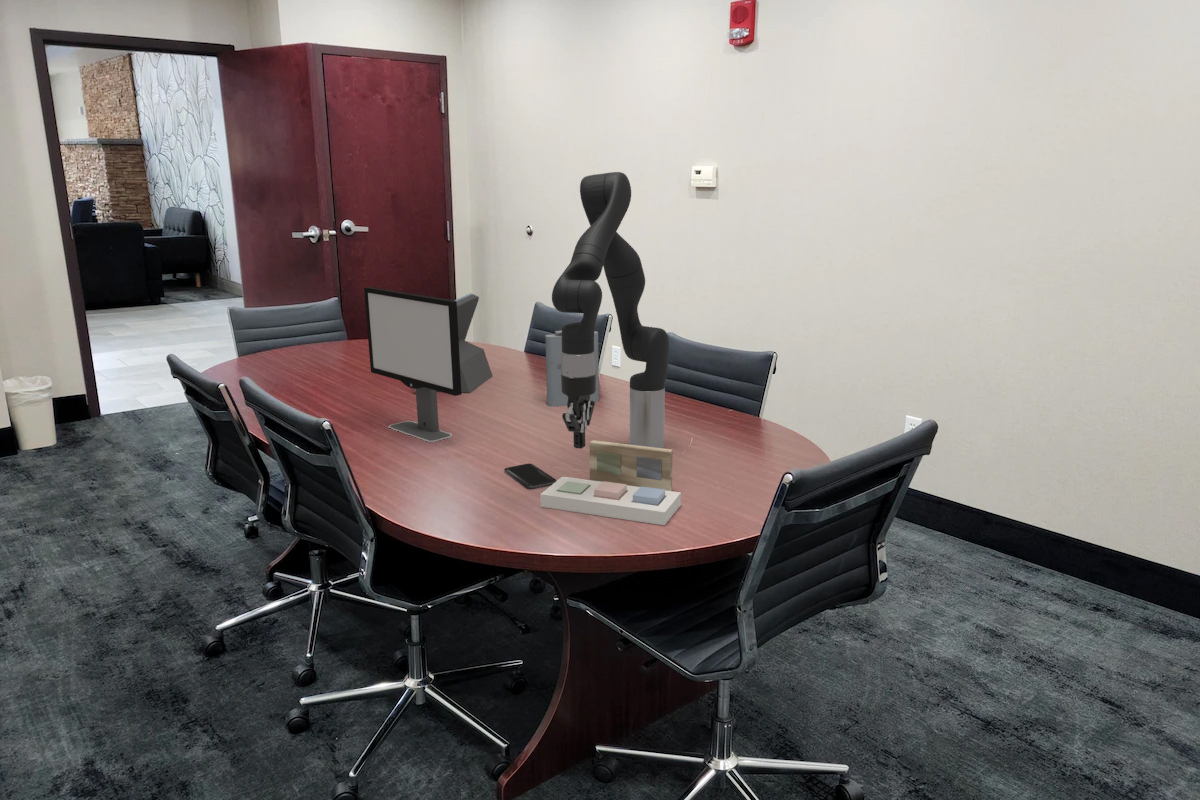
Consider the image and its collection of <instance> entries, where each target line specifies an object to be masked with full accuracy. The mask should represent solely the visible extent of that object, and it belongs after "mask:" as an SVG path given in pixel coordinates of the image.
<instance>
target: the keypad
mask: <svg viewBox="0 0 1200 800" xmlns="http://www.w3.org/2000/svg"><path fill="white" fill-rule="evenodd" d="M567 481H570V482H577V483H584V484H590V487H589V488H588V489H587V490H586V491H585V492H583V493H582V494H581V495H579V494H572V493H565V492H558V491H557V489H559V488H560V487H561V486H562V485H563V484H565V483H566V482H567ZM601 483H602V482H600V481H592V480H590V479H585V478H584V479H582V478H576V477H570V476H561V477H560V478H559V479H556V482H555V483H554V484H552V485H551V486H548V487H547V488H546V489H545V490H543V492H541V493H540V494H539V495H540V496H539V497H540V507H541V508H546V509H551V510H552V509H553V510H559V511H565V512H566V511H567V512H573V513H580V514H587V515H592V516H593V515H594V516H600V517H606V518H613V519H618V520H619V519H620V520H625V521H626V520H627V521H632V522H638V523H640V522H641V523H646V524H653V525H657V526H666V524H667V523H668V522H669V521H670V520H671V518H672V517H673V516H674V514H675V513H676V512H677V511H678V510H679V508H681V505H682V492H678V491H673V490H672V491H666V490H665V498H664V500H663V501H662V502H661V503H660V504H659V506H656V505H649V504H642V503H635V502H633V494H634V493H635V492H636V491H637V490H638V489H639V488H640V487H636V486H629V485H627V492H626V494H625V495H624V496H623V497H622V498H621V499H620V500H614V499H607V498H600V497H594V490H595V489H596V488H597V487H598V486H599V485H600V484H601Z"/></svg>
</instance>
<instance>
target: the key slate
mask: <svg viewBox="0 0 1200 800" xmlns="http://www.w3.org/2000/svg"><path fill="white" fill-rule="evenodd" d="M664 498H665V490H664V489H657V488H649V487H642V486H641V487H640V488H639V489H638V490H637V491H636V492H635V493H634V494H633V502H635V503H642V504H649V505H656V506H659V504H660V503H661V502H662V501H663V500H664Z"/></svg>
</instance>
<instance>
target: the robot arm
mask: <svg viewBox="0 0 1200 800" xmlns="http://www.w3.org/2000/svg"><path fill="white" fill-rule="evenodd" d="M579 194H580V200H581V204H582V207H583V210H584V213H585V215H586V218H587V221H588V223H589V225H590V226H589V227H588V228H587V229H586V230H585V231H584V232H583V234H582V235H580V237H579V239H578V240H577V242H576V244H575V246H574V249H573V250H574V251H573V253H572V256H571V259H570V263H569V264H568V265H567V267H566V268H565V269H564V271H563V272H562V274H561V275H560V276H559V278H558V279H557V280H556V282H555V284H554V286H553V288H552V293H551V302H552V305H553V307H554V309H555V310H557V311H558V312H560V313H564V314H565V313H566V314H582V315H583V316H582V318H581V321H577V322H572V323H567V324H566V325H564V326H562V329H561V331H562V333H561V334H562V357H561V390H562V393H563V394H565V395H567V396H568V402H567V406H566V407H567V411H566V412H563V413H562V415H561V416H562V420H563V422H564V424H565V427H566V429H567V430H568V432H571V433H573V448H575V449H583V448H584V447H585V446H586V431H587V428H588V426H590V424H591V420H592V416H593V413H594V409H595V405H596V404H595V403H596V402H595V401H590V395H592V394H594V393H595V391H596V363H595V355H594V331H596V330H595V328H596V323H597V318H598V315H599V311H600V308H601V304H602V300H603V291H602V288H601V286H600V284H599V283H598V282H597V280H598V279H599V278H600V277H601V274H602V270H604V274H605V278H606V281H607V285H608V287H609V290H610V293H611V297H612V300H613V305H614V308H615V312H616V316H617V317H616V318H617V321H618V327H619V332H620V338H621V339H620V340H621V344H622V349H623V351H624V354H625V355H626V357H627V358H628V359H630V360H632V361H636V362H643V363H645V370H644V371H642V372H638V373H635V374H633V375H631V376H630V378H629V445H637V446H646V447H654V448H663V449H665V417H666V416H665V406H666V405H665V403H666V402H665V401H666V398H665V396H666V395H665V393H666V392H665V391H666V389H665V387H666V381H667V376H668V368H669V367H668V363H669V353H670V352H669V351H670V341H669V336H668V333H667V332H666V330H664V329H663V328H660V327H656V326H655V327H653V326H647V325H646V326H645V325H642V323H641V321H640V318H639V317H640V315H639V311H638V307H639V303H640V302H641V298H642V295H643V293H644V290H645V286H646V277H645V276H646V275H645V273H644V272H645V271H644V268H643V265H642V260H641V258H640V256H639V254H638V253H637V251H636V250H635V248H634V247H633V246H631V245H630V243H628V242H627V240H625V238H624V237H622V236H621V234H619V233H618V229H619V227H620V226H621V224H622V222H623V220H624V218H625V215H626V213H627V212H628V209H629V207H630V204H631V199H632V186H631V183H630V180H629V177H628V176H627V175H626V174H625V172H620V171H613V172H604V173H598V174H590V175H586V176H583V178H582V179H581V180H580V184H579Z"/></svg>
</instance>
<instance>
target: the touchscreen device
mask: <svg viewBox="0 0 1200 800" xmlns="http://www.w3.org/2000/svg"><path fill="white" fill-rule="evenodd" d="M479 298H480V296H478V295H476V294H474V293H472V292H471V293H468V294H466V295H464V296H461V297H459V298H457V299H454V301H456V302H457V318H458V337H459V356H460V375H461V393H467V394H469V393H470V394H471V393H473V392H474V391H476V389H478V388H479V387H481V386H483V384H485V382H487V381H488V380H490V379H491V378H492V377H493V373H492V371H491V367H490V364H489V362H488V361H489V360H488V358H487V355H486V353H485V349H484V348H481V347H479V346H478V345H476V344H473V343H471V342H468V341H466V338H467V335H468V331H469V329H470V326H471V323H472V320H473V318H474V314H475V312H476V309H477V306H478V302H479V300H480V299H479ZM414 391H415V393H416V389H414Z"/></svg>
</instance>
